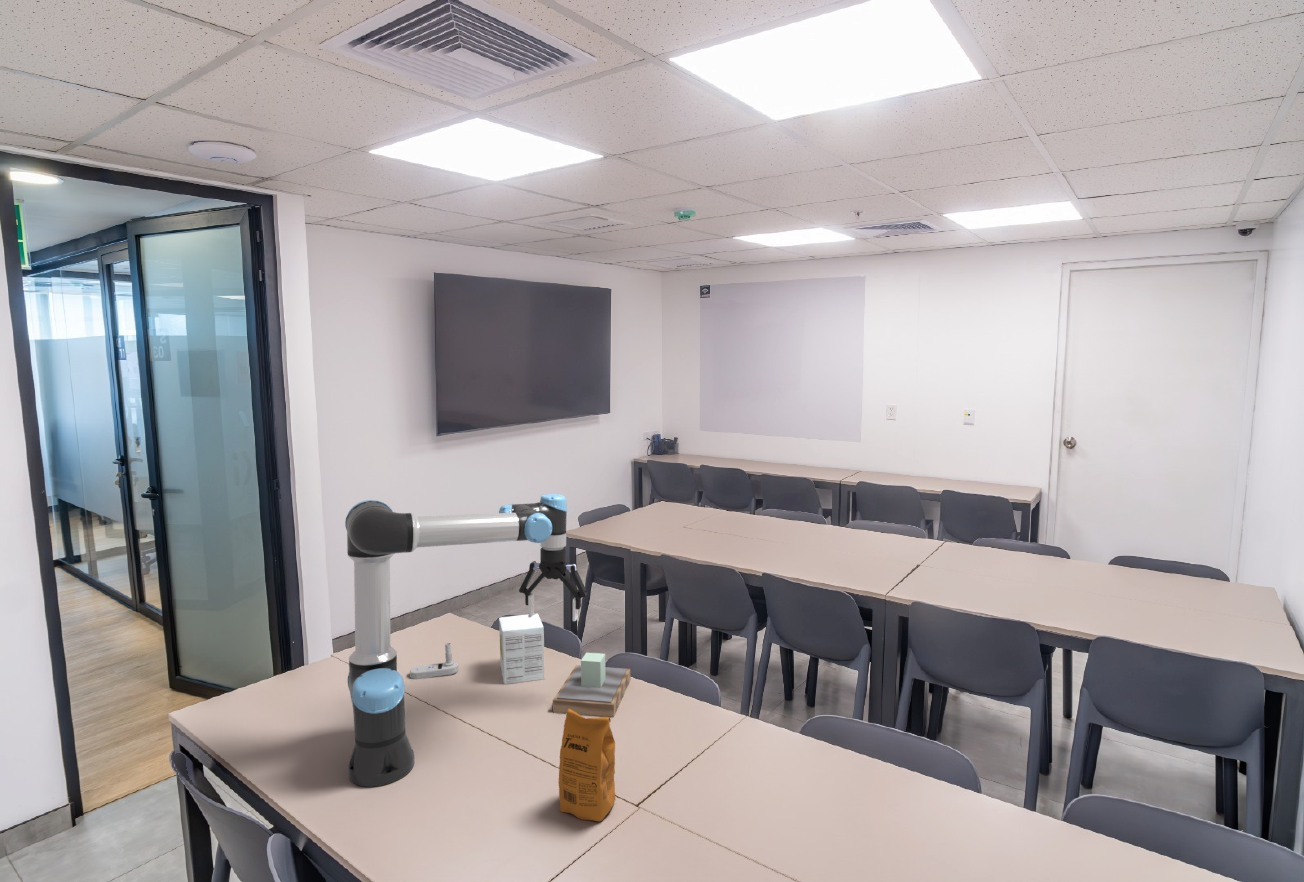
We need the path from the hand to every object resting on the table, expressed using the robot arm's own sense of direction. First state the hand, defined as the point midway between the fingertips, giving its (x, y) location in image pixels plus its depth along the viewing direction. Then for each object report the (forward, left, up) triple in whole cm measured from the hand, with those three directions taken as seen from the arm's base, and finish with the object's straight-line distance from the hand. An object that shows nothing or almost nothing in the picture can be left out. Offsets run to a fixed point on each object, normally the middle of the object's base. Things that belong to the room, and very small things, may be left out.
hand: (552, 617), depth 200 cm
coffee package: (-47, -23, -26) cm, 58 cm away
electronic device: (+11, +45, -26) cm, 53 cm away
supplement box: (+16, +16, -26) cm, 35 cm away
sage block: (+5, -11, -22) cm, 25 cm away
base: (+5, -11, -26) cm, 28 cm away
